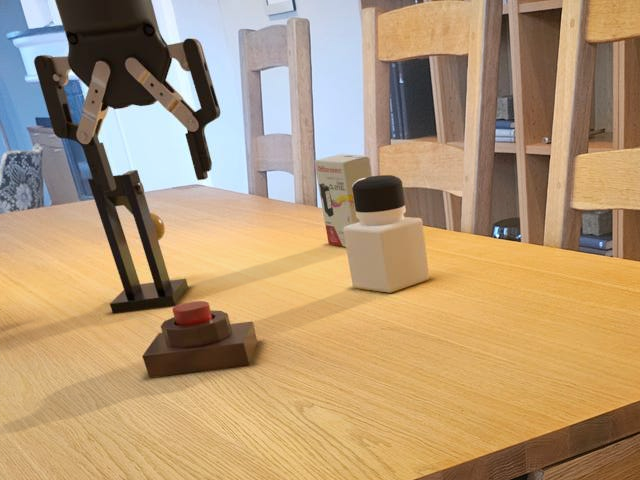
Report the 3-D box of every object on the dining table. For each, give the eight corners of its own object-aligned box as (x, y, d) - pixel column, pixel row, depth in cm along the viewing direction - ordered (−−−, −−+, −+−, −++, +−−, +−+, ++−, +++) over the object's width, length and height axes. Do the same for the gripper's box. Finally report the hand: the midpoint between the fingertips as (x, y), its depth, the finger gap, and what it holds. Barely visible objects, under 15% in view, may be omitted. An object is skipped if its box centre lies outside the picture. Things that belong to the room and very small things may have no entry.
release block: (149, 377, 82) (135, 337, 80) (164, 353, 89) (152, 315, 87) (249, 365, 83) (238, 324, 80) (257, 342, 89) (248, 303, 87)
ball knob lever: (144, 246, 117) (140, 220, 116) (170, 243, 117) (165, 217, 116) (101, 203, 102) (96, 172, 101) (131, 199, 102) (125, 168, 101)
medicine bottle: (430, 279, 105) (417, 172, 98) (389, 293, 101) (373, 183, 94) (392, 274, 109) (377, 171, 102) (351, 288, 105) (333, 181, 98)
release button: (174, 330, 82) (168, 312, 81) (180, 321, 85) (175, 303, 84) (210, 326, 82) (205, 308, 81) (215, 316, 85) (211, 299, 84)
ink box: (327, 244, 131) (311, 159, 124) (353, 238, 133) (339, 154, 126) (356, 249, 125) (341, 160, 118) (383, 243, 128) (370, 155, 121)
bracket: (130, 294, 114) (91, 173, 106) (188, 287, 115) (153, 165, 106) (112, 313, 106) (68, 183, 98) (175, 305, 107) (136, 175, 98)
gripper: (188, -47, 70) (238, 170, 80) (18, -28, 70) (89, 188, 79) (171, -55, 64) (228, 180, 74) (-14, -35, 64) (67, 200, 73)
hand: (156, 184), depth 77 cm, fingers open, 8 cm apart
